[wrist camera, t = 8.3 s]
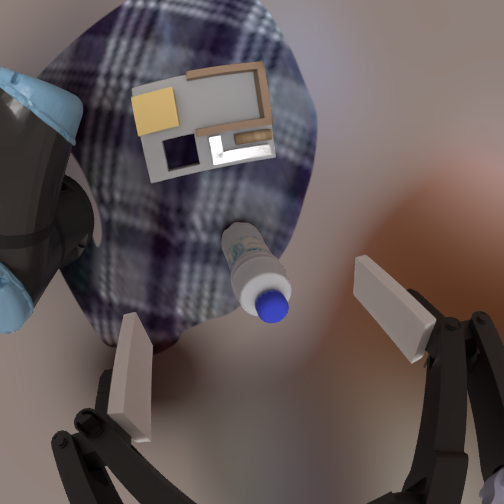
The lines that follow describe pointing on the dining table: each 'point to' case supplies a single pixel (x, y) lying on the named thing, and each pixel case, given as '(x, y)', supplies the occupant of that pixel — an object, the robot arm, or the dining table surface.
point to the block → (155, 111)
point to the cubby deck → (211, 114)
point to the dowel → (253, 136)
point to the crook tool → (235, 151)
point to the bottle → (256, 273)
